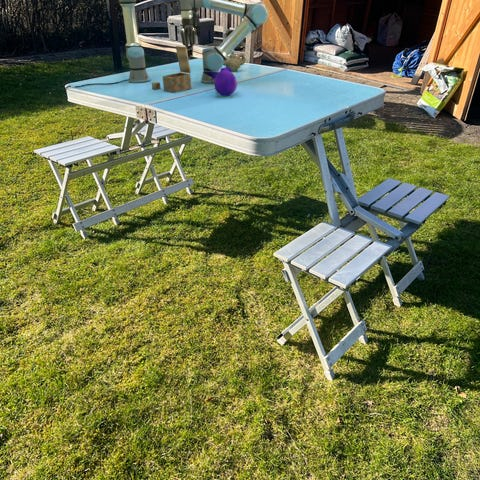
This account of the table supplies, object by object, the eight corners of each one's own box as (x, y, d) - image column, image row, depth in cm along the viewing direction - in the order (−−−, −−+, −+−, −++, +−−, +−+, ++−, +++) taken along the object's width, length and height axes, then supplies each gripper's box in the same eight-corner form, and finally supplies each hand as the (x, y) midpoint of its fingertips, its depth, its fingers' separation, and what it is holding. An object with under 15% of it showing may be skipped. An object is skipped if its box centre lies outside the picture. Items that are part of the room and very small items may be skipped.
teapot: (225, 73, 359) (225, 53, 352) (218, 71, 368) (218, 51, 360) (248, 70, 368) (248, 50, 361) (241, 68, 377) (241, 49, 369)
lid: (185, 47, 297) (194, 44, 302) (175, 46, 304) (184, 43, 308) (189, 73, 307) (198, 70, 312) (180, 71, 313) (189, 68, 318)
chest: (173, 92, 303) (171, 77, 298) (163, 90, 309) (162, 75, 304) (191, 88, 313) (190, 74, 308) (182, 86, 319) (180, 72, 314)
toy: (224, 88, 311) (237, 101, 290) (200, 83, 303) (211, 96, 283) (230, 64, 302) (243, 76, 282) (205, 59, 295) (217, 71, 274)
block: (155, 89, 312) (155, 83, 310) (152, 88, 315) (151, 82, 313) (160, 88, 315) (160, 82, 313) (157, 87, 317) (156, 81, 315)
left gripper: (203, 5, 329) (204, 37, 339) (195, 3, 349) (197, 33, 360) (193, 5, 327) (195, 37, 338) (186, 4, 347) (188, 34, 358)
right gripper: (182, 19, 290) (185, 57, 302) (199, 17, 299) (201, 55, 311) (174, 18, 294) (178, 56, 306) (191, 17, 303) (194, 54, 315)
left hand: (196, 35), depth 349 cm, fingers open, 13 cm apart
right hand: (189, 55), depth 308 cm, fingers closed on lid, 2 cm apart
